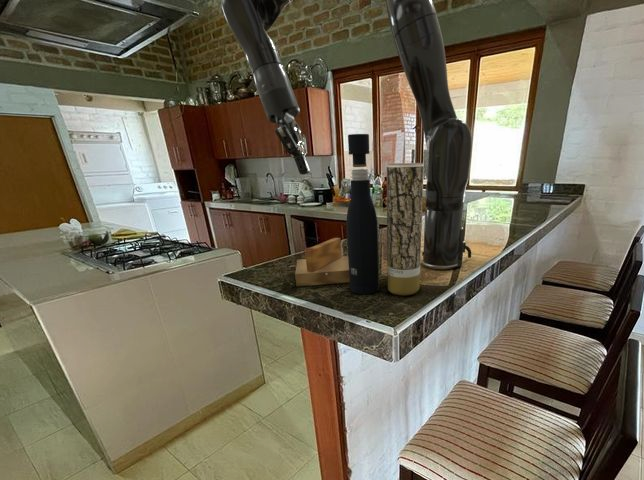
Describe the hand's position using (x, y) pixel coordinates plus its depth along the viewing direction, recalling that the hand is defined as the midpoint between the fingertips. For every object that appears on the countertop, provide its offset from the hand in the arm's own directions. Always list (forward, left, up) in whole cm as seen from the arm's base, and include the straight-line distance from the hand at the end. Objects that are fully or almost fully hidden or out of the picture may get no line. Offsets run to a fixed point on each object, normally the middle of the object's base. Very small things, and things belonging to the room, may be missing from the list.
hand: (305, 173), depth 79 cm
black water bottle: (-11, +19, -23) cm, 32 cm away
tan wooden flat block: (-3, +8, -20) cm, 22 cm away
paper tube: (-19, +22, -23) cm, 37 cm away
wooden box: (-3, +8, -23) cm, 25 cm away
